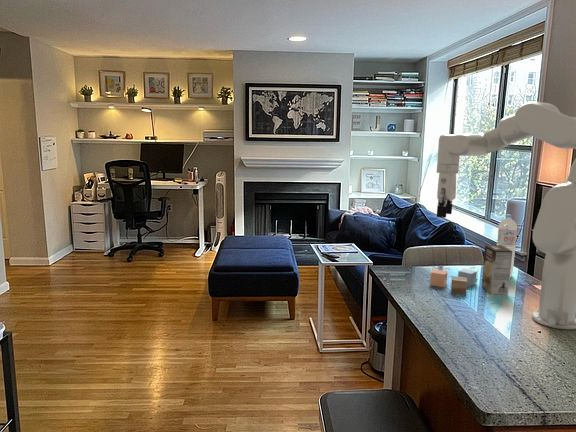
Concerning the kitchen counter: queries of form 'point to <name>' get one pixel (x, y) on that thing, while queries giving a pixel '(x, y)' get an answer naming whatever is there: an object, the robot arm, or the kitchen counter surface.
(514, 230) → the water bottle
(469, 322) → the kitchen counter surface
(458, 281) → the walnut cube
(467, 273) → the slate cube
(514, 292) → the kitchen counter surface
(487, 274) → the coffee box
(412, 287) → the kitchen counter surface
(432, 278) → the terracotta cube
